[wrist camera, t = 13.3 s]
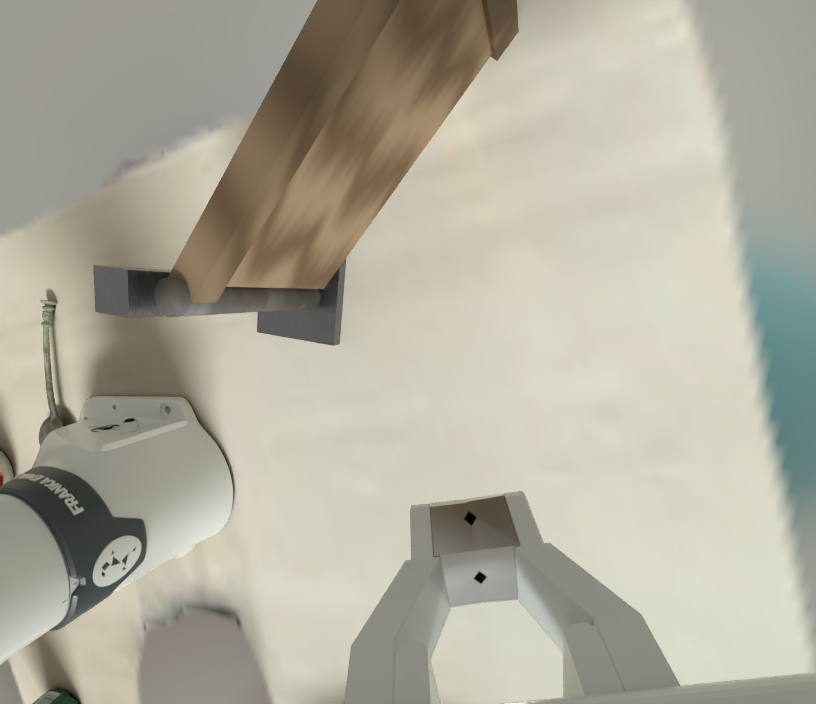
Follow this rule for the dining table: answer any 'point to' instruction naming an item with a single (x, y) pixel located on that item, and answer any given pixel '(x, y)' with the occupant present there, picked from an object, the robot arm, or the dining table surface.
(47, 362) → the soupspoon
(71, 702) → the coffee jar
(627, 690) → the robot arm
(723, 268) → the dining table surface
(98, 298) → the gate post
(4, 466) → the teacup
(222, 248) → the gate
